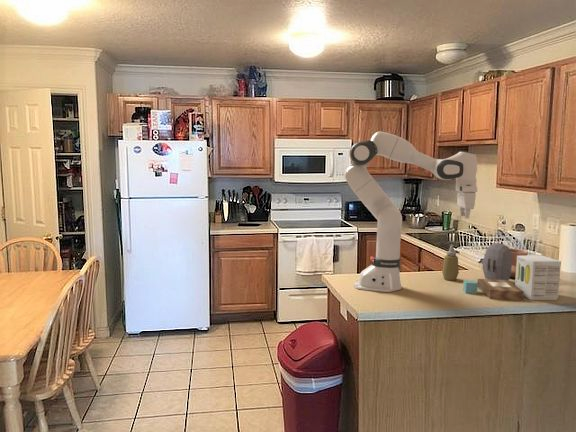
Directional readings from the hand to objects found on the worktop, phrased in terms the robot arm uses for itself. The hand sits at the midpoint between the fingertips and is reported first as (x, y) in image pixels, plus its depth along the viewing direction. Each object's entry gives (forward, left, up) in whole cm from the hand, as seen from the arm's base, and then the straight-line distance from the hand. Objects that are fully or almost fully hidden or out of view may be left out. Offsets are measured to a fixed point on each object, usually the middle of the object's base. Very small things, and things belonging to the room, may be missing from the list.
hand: (464, 217), depth 217 cm
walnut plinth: (+17, -1, -35) cm, 39 cm away
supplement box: (+32, -3, -35) cm, 48 cm away
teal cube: (+4, -1, -35) cm, 35 cm away
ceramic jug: (+35, +35, -35) cm, 60 cm away
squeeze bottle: (0, +22, -35) cm, 41 cm away
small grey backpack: (+22, +21, -35) cm, 46 cm away
